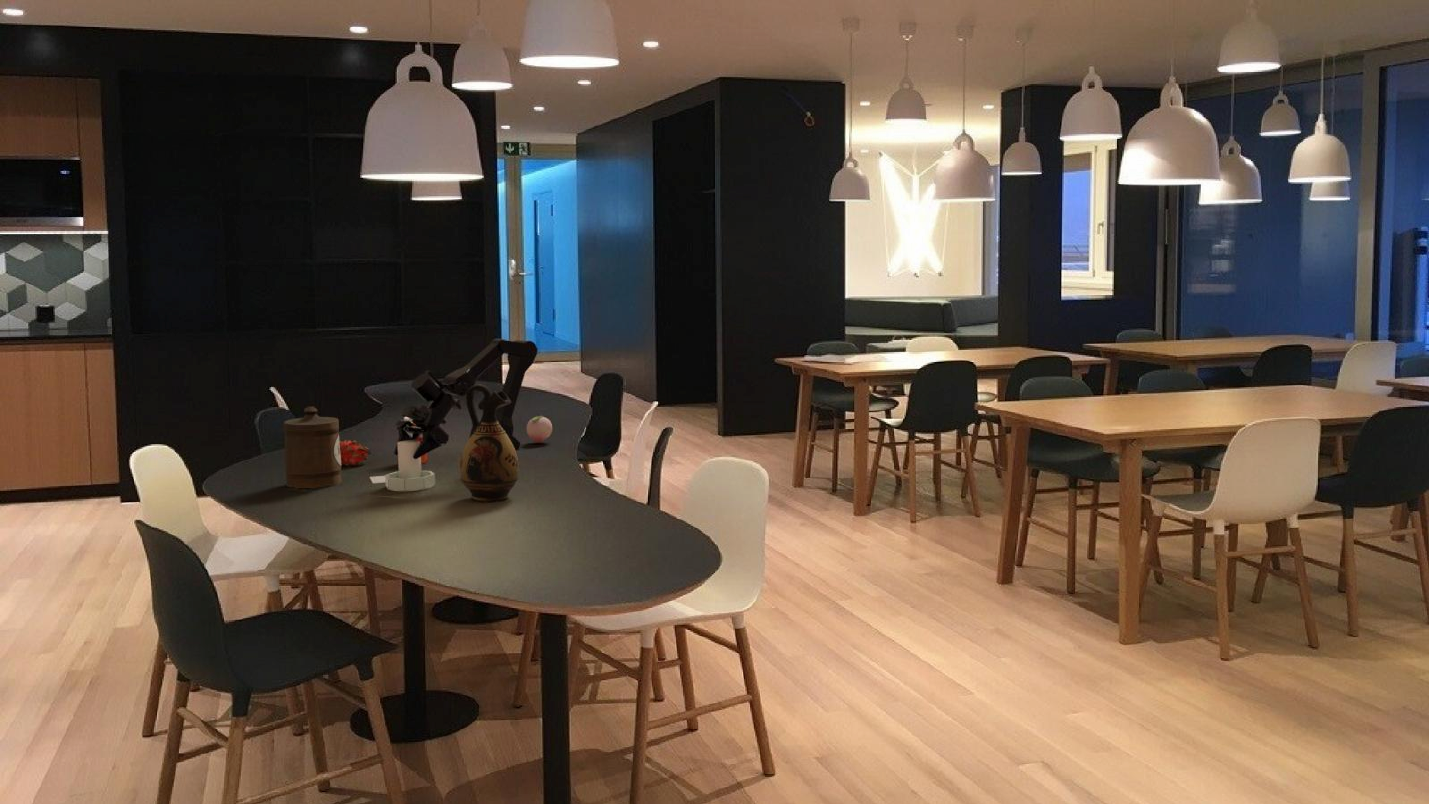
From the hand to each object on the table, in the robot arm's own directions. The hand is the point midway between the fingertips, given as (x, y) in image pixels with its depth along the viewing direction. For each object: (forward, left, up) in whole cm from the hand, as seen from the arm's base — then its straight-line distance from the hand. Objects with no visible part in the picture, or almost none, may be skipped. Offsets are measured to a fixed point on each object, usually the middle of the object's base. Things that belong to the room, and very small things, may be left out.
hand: (404, 456), depth 341 cm
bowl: (-1, -1, -9) cm, 9 cm away
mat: (+12, -9, -9) cm, 17 cm away
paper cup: (+20, -35, -9) cm, 42 cm away
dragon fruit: (+37, -25, -9) cm, 46 cm away
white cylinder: (-1, -1, -8) cm, 8 cm away
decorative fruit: (+1, -77, -9) cm, 78 cm away
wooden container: (+28, +3, -9) cm, 30 cm away
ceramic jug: (-29, +4, -9) cm, 30 cm away
